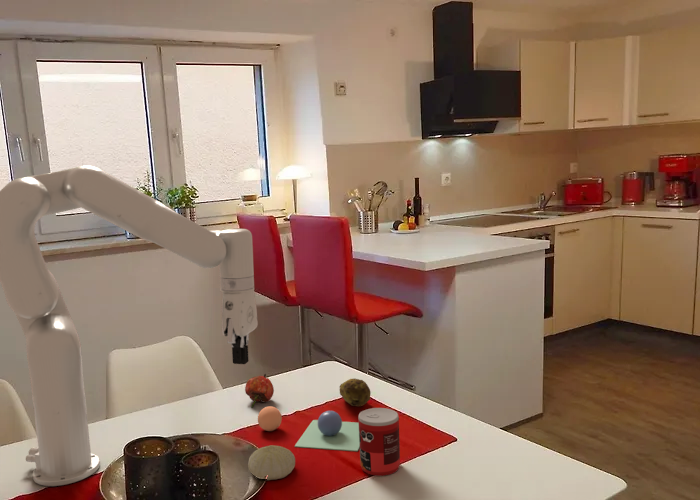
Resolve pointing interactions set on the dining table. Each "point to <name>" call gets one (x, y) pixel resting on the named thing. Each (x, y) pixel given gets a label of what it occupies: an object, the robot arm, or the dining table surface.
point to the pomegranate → (259, 389)
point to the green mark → (331, 438)
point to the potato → (355, 392)
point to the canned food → (379, 441)
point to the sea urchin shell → (271, 462)
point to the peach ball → (269, 418)
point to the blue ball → (329, 423)
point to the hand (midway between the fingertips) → (240, 362)
